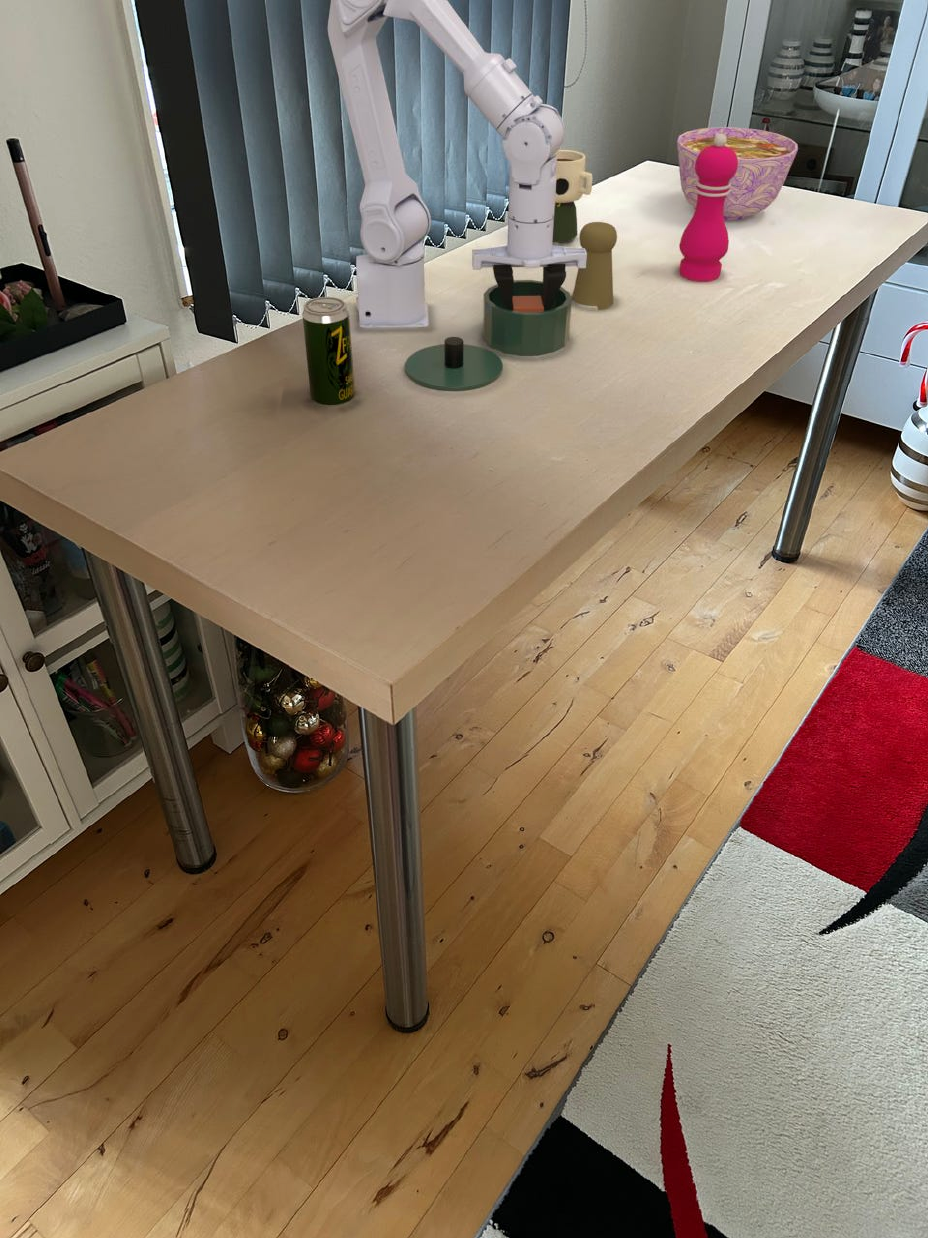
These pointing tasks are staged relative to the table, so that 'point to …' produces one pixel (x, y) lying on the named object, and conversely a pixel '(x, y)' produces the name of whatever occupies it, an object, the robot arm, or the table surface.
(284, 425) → the table surface
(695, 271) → the pepper mill
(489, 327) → the pot
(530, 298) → the block
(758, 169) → the bowl of food
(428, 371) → the lid
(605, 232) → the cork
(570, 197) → the character mug
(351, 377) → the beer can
